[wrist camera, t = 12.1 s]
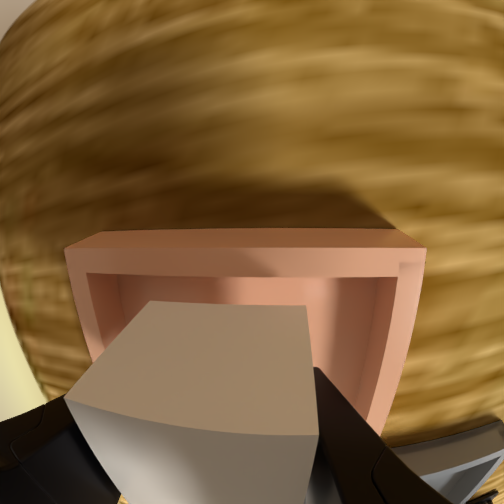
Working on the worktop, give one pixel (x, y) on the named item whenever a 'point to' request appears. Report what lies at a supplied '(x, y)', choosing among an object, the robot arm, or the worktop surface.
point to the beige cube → (204, 405)
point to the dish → (268, 291)
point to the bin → (457, 460)
